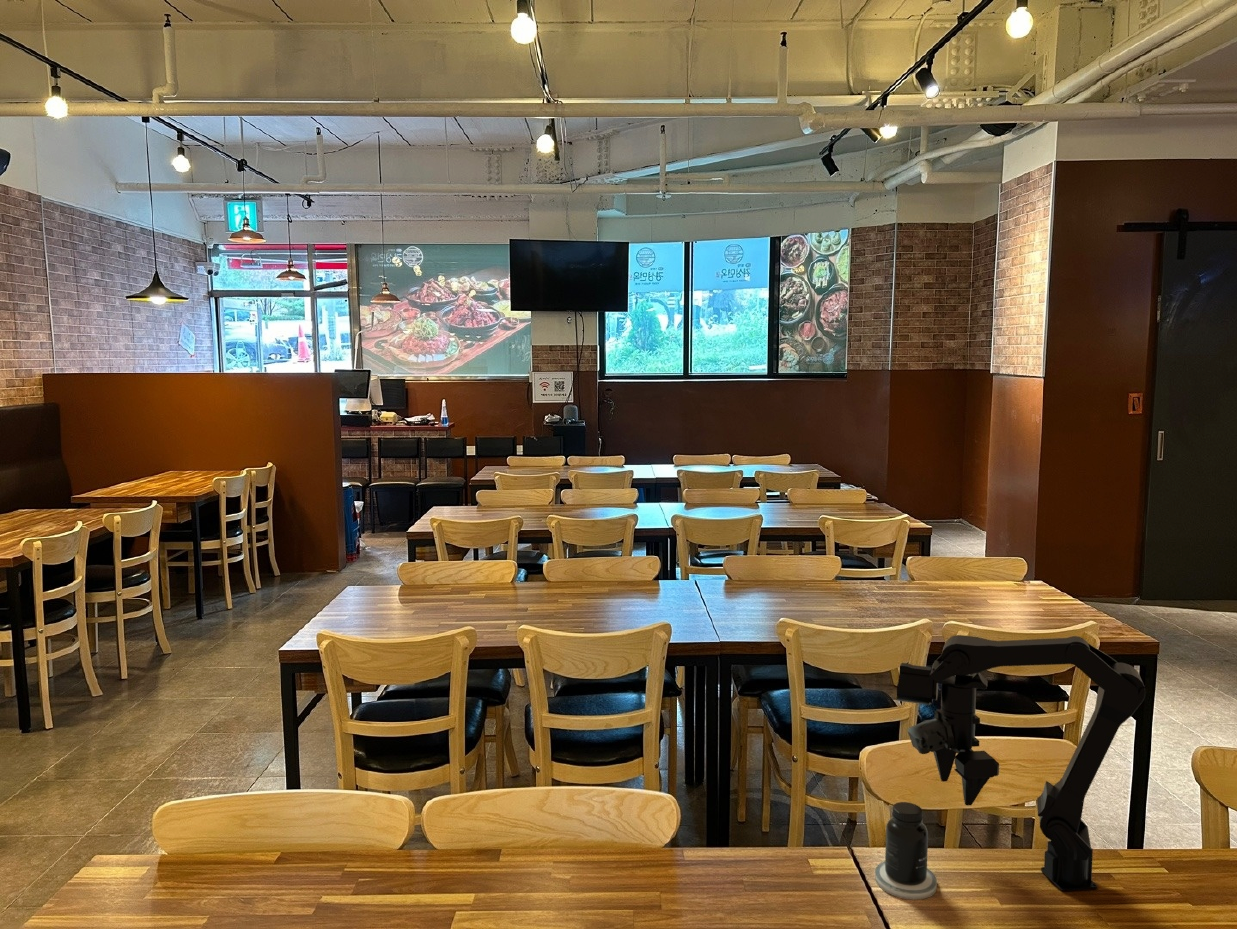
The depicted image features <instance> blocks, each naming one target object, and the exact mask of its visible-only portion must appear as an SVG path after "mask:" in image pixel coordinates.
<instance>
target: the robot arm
mask: <svg viewBox="0 0 1237 929" xmlns="http://www.w3.org/2000/svg"><path fill="white" fill-rule="evenodd" d="M899 665H900V666H899V672H898V680H897V681H898V682H897V684H896V701H897V702H904V703H912V704H919V705H924V706H925V705H927V706H930V705H931V704H933V701H938V694H939V684H941V688H940V690H941V691H940V692H941V693H940V695H941V696H940V708H937V709H936V711H935V712H934V718H933V719H924V720H923V721H922V722H920V723H917V724H915V725H913V726H910V727H908V728H907V734H908V736H909V739H910V743H911V745H912V747H913V748H915V749H916V751H917V752H918V753H919V754H921V755H927V754H929V753H930V752H931V753H933V756H934V761H935V763H936V767H937V771H938V775H939V778H940V781H941V782H943V783H944V782H948V781H949V777H950V775H951V772H952V770H953V769H954V771H955V772H956V773H957V774H958V775H959V776H960V777H961V782H962V793H963V794H962V795H963V800H964V801H963V802H964V805H965V806H972V805H973V803H975V800H976V798H978V795H980V793H981V791H982V790H983V787H984V786H985V785H986V783H988V781H989V780H990V779H991V778H994V777H998V776H999V775H1000V763H999V762H998V761H997V760H996V759H995V758H994V757H993V756H991V755H990V754H989V753H988V752H987V751H986V750H973V747H974V748H975V747H980V740H979V739H978V738H976V737H975V734H976V733H975V732H976V725H980V724H981V718H980V717H979V716H977V715H976V703H977V700H976V697H977V689H978V690H979V689H980V690H987V688H988V683H989V682H988V679H987V678H986V677H984V676H983V675H982V674H981V673H983V672H985V671H989V670H991V669H995V668H1000V667H1001V668H1002V667H1024V666H1025V667H1027V666H1029V667H1030V666H1050V665H1051V666H1056V665H1073V666H1075V667H1076V668H1078V669H1079V670H1080V671H1081V672H1082V673H1083V674H1084V675H1086V676H1087V678H1088V679H1090V680H1091V681H1093V683H1094V684H1096V685H1097V686H1098V689H1097V695H1096V701H1095V706H1094V710H1093V713H1092V715H1091V717H1090V719H1089V721H1088V723H1087V725H1086V727H1085V728H1084V731H1083V733H1082V735H1081V737H1080V740H1079V742H1078V743H1077V746H1076V748H1075V751H1073V754H1072V756H1071V758H1070V761H1069V762H1068V764H1067V767H1066V768H1065V771H1064V773H1063V774H1062V777H1061V778H1060V779H1059V781H1057V782H1056V783H1055V784H1052V783H1050V782H1049V781H1047V780H1045V784H1044V786H1043V790H1042V792H1041V794H1040V795H1039V796H1038V797H1037V798H1036V805H1037V806H1036V808H1037V817H1039V819H1038V820H1039V828H1040V830H1041V833H1042V834H1043V835H1044V836H1045V837H1046V839H1048V841H1047V842H1046V843H1047V844H1046V847H1047V848H1046V850H1045V851H1044V864H1043V865H1044V866H1042V867H1040V871H1041V872H1042V873H1043V874H1044V875H1045V876H1046V877H1047V878H1048V879H1049V880H1050V881H1051V882H1052V883H1053V884H1054V885H1055V886H1056V887H1057V888H1058V889H1059V890H1060V891H1062V892H1068V891H1070V892H1071V891H1085V890H1086V891H1088V890H1090V891H1091V890H1098V884H1096V883H1095V882H1094V881H1093V858H1094V857H1093V855H1094V854H1093V853H1094V849H1093V848H1092V845H1091V844H1092V843H1091V838H1090V833H1089V827H1088V825H1087V824H1086V823H1085V822H1084V821H1083V820H1082V816H1083V809H1084V803H1085V797H1086V796H1087V794H1088V791H1089V789H1090V788H1091V785H1092V783H1093V781H1094V779H1095V777H1096V776H1097V773H1098V772H1099V769H1100V767H1101V764H1102V763H1103V761H1104V759H1105V757H1106V755H1107V753H1108V751H1109V748H1110V746H1111V744H1112V743H1113V740H1114V739H1115V737H1116V734H1117V733H1118V730H1119V728H1120V727H1121V726H1122V725H1123V724H1124V723H1125V722H1126V721H1127V720H1129V719H1130V718H1131V717H1132V716H1133V715H1134V713H1136V711H1137V710H1138V709H1139V707H1140V706H1141V705H1142V704H1143V702H1144V701H1145V699H1146V696H1147V695H1146V694H1147V690H1146V687H1145V685H1144V682H1143V680H1142V678H1141V675H1140V673H1139V672H1138V670H1137V669H1136V668H1135V667H1134V666H1132V665H1130V664H1128V663H1125V662H1118V661H1117V660H1115V659H1114V658H1113V657H1111V656H1110V655H1108V654H1107V653H1105V652H1103V651H1102V650H1100V649H1098V648H1097V647H1095V646H1093V645H1092V644H1090V643H1089V642H1088V641H1087V640H1086V639H1085V638H1083V637H1081V636H1077V635H1073V636H1072V635H1071V636H1068V637H1057V638H1056V637H1055V638H1037V639H1031V638H1030V639H1016V640H1015V639H1013V640H1012V639H1011V640H992V639H987V638H983V637H979V636H973V635H972V636H970V635H965V634H963V635H962V634H956V635H952V636H950V637H949V638H947V640H946V641H945V642H944V646H943V648H942V652H941V655H940V656H939V657H938V658H937V659H936V660H934V662H933V663H932V667H931V666H923V665H915V664H910V663H907V662H902V663H900V664H899ZM954 765H955V768H953V766H954Z"/></svg>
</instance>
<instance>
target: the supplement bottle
mask: <svg viewBox="0 0 1237 929" xmlns="http://www.w3.org/2000/svg"><path fill="white" fill-rule="evenodd" d="M923 820H924V818H923V809H922V808H921V806H919V805H917V804H916V803H912V802H909V801H900V802H896V803H894V804H893V805H892V813H891V818H890V819H889V820H888V821H887V823H886V826H885V853H884V854H885V855H884V857H885V858H884V861H885V871H886V874H887V875H888V877H889V878H890V879H892V880H893V881H895V882H897V883H900V884H904V885H919V884H921V883H923V882H924V881H925V880H926V877H927V868H928V851H929V850H928V849H929V846H928V845H929V843H928V842H929V831H928V828H927V826H926V824H924V823H923Z"/></svg>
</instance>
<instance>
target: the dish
mask: <svg viewBox="0 0 1237 929" xmlns="http://www.w3.org/2000/svg"><path fill="white" fill-rule="evenodd" d="M874 879H875V883H876V884H877V886H878V887H879V888H880V889H882V890H883V891H884V892H885V893H887V894H890V895H892V896H894V897H897V898H900V899H905V900H915V901H916V900H925V899H928V898H930V897H932V896H933V895H935V893H936V892H937V884H938V883H937V881H938V880H937V877H936V875H935V873H933V871H932V870H931V869H929V868H928V867H927V877H926V880H925V881H924V882H923V883H921V884H919V885H904V884H900V883H897V882H895V881H893V880H892V879H890V878H889V877H888V875H887V874H886V871H885V860H884V861H882V862H880V863H878V865H877V866H876V867H875V872H874Z"/></svg>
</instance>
